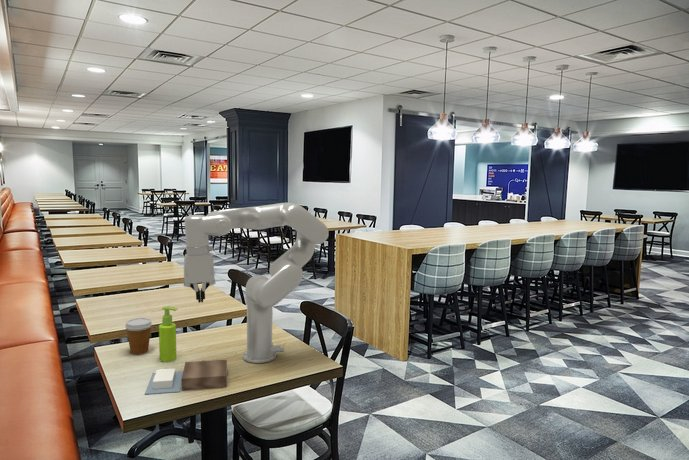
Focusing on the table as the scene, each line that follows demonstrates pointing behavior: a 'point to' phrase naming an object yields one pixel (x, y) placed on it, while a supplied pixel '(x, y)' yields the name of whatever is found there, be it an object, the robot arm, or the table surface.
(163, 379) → the tile
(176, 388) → the mat
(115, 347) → the table surface
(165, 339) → the soap dispenser
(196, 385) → the brown wooden block
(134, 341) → the disposable coffee cup
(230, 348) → the table surface
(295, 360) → the table surface
